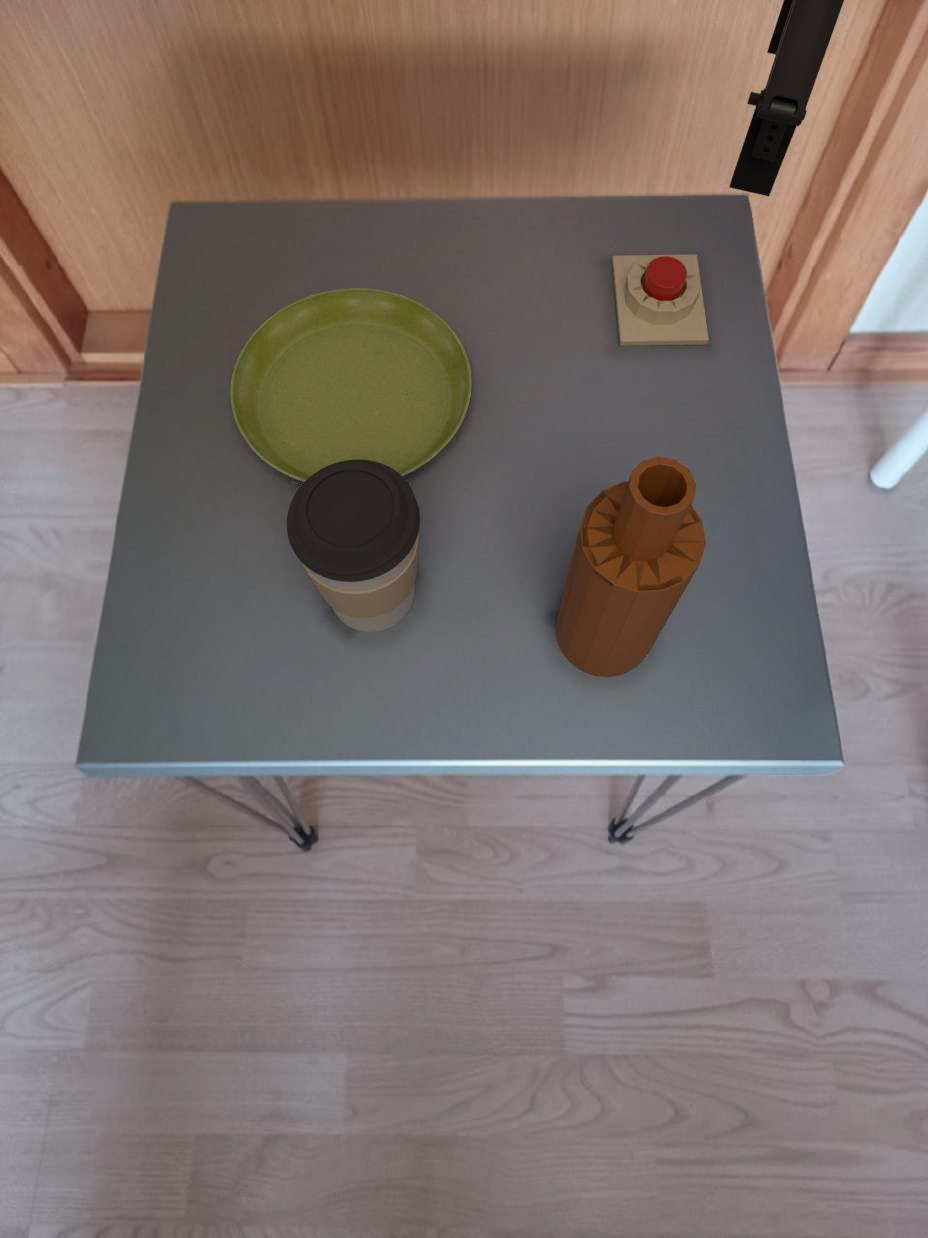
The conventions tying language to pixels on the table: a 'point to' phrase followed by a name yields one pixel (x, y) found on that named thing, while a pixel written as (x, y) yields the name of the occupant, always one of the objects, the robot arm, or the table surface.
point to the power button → (664, 278)
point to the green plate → (350, 383)
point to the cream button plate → (657, 305)
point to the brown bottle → (630, 568)
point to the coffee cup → (358, 541)
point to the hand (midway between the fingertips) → (768, 118)
